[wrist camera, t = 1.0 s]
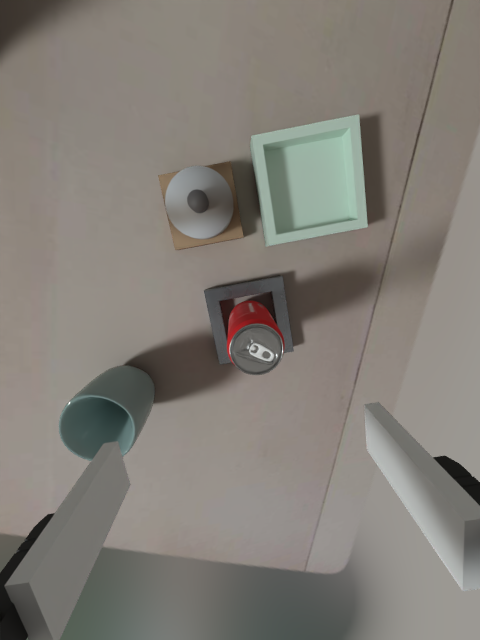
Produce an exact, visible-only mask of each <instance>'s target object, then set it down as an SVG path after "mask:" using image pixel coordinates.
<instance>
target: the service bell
mask: <svg viewBox="0 0 480 640" xmlns="http://www.w3.org/2000/svg"><path fill="white" fill-rule="evenodd" d="M158 177H159V181H160V186H161V190H162V194H163V199H164V203H165V207H166V212H167V216H168V220H169V225H170V229H171V233H172V238H173V242H174V247H175V250H181V249H186V248H192V247H197V246H202V245H208V244H213V243H218V242H223V241H229V240H234V239H239V238H243V231H242V225H241V219H240V214H239V208H238V202H237V196H236V191H235V185H234V179H233V173H232V168H231V162H230V161H229V162H224V163H219V164H214V165H209V166H191V167H188V168H185V169H183V170H181V171H178V172H173V173H168V174H163V175H158Z"/></svg>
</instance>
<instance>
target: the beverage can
mask: <svg viewBox="0 0 480 640" xmlns="http://www.w3.org/2000/svg"><path fill="white" fill-rule="evenodd" d="M284 348H285V343H284V338H283V335H282V333H281V331H280V329H279V328H278V326H277V324H276V323H275V321H274V319H273V318H272V316H271V314H270V313H269V311H268V310H267V308H266V307H265V306H264V305H262V304H261V303H259V302H256V301H244V302H241V303H239V304H238V305H236V306H235V307H234V309H233V310H232V311H231V314H230V317H229V326H228V338H227V352H228V356H229V358H230V360H231V362H232V363H233V364H234V365H235V366H236V367H237V368H238V369H239V370H241V371H242V372H244V373H247V374H250V375H262V374H265V373H268V372H270V371H271V370H273V369H274V368H275V367H276V366H277V365H278V364H279V362H280V361H281V359H282V356H283V353H284Z"/></svg>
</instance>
